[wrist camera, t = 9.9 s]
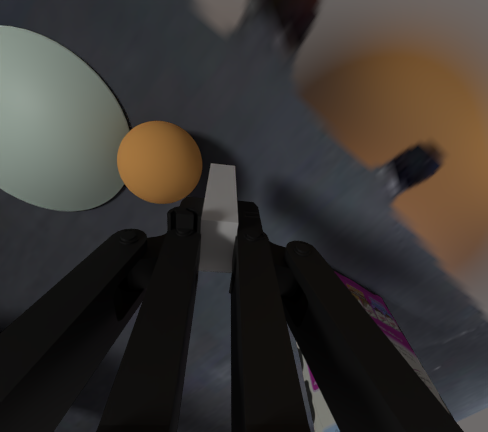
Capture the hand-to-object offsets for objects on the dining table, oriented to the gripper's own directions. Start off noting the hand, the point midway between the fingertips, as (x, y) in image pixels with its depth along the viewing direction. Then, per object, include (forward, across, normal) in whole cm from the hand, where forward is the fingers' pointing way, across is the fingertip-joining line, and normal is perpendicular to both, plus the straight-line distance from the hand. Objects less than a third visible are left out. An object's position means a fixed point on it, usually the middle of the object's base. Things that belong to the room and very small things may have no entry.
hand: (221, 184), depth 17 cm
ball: (+2, +4, 0) cm, 5 cm away
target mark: (+5, +13, 0) cm, 14 cm away
